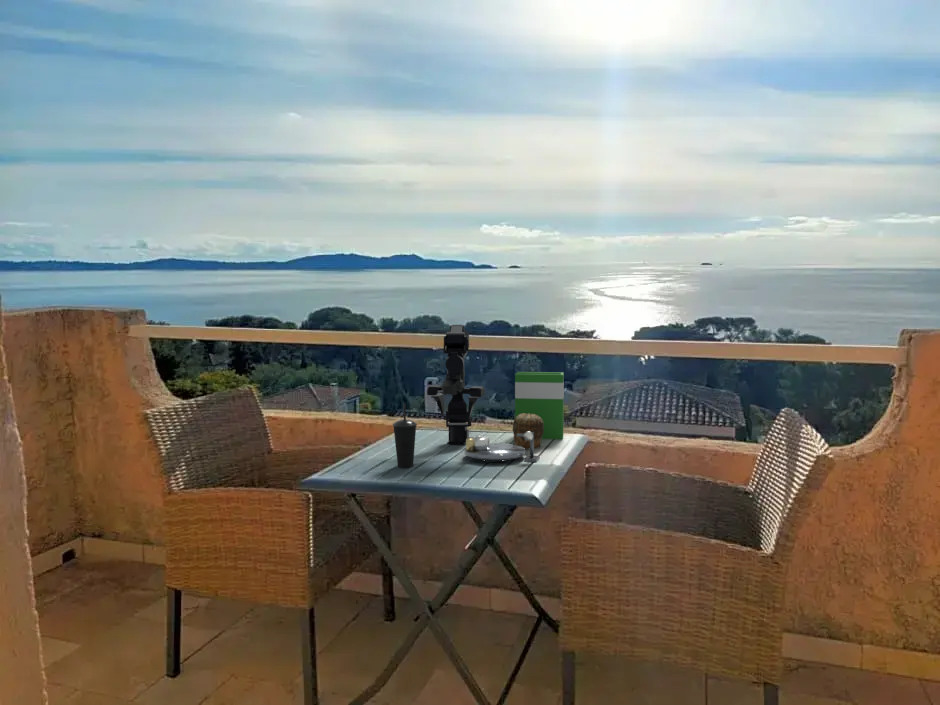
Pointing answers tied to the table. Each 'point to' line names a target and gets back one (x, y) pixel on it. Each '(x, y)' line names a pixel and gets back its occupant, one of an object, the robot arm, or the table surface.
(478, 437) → the cover
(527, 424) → the shell
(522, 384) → the hardback book
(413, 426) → the drinking cup
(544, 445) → the table surface
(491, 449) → the platter
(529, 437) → the dial stand
